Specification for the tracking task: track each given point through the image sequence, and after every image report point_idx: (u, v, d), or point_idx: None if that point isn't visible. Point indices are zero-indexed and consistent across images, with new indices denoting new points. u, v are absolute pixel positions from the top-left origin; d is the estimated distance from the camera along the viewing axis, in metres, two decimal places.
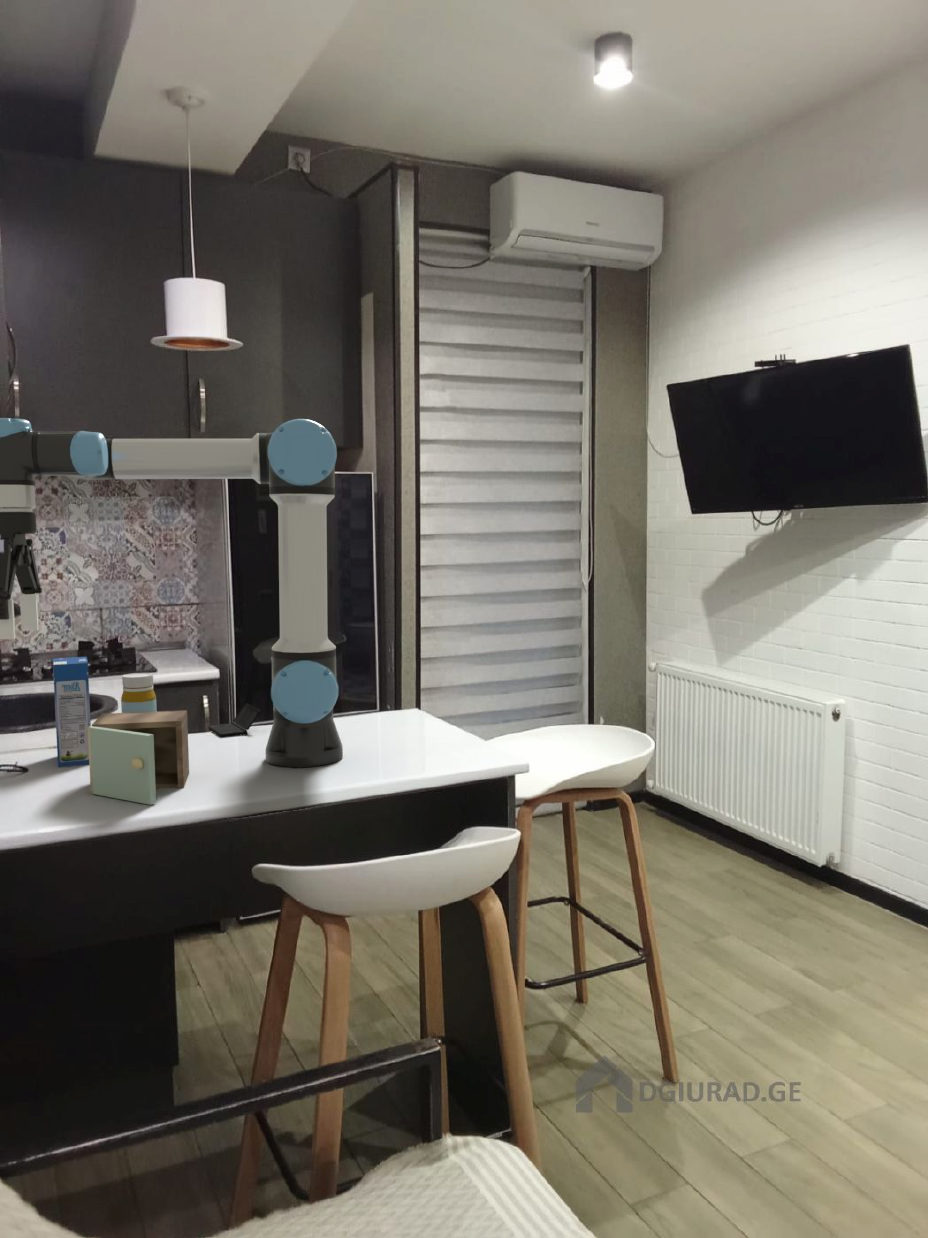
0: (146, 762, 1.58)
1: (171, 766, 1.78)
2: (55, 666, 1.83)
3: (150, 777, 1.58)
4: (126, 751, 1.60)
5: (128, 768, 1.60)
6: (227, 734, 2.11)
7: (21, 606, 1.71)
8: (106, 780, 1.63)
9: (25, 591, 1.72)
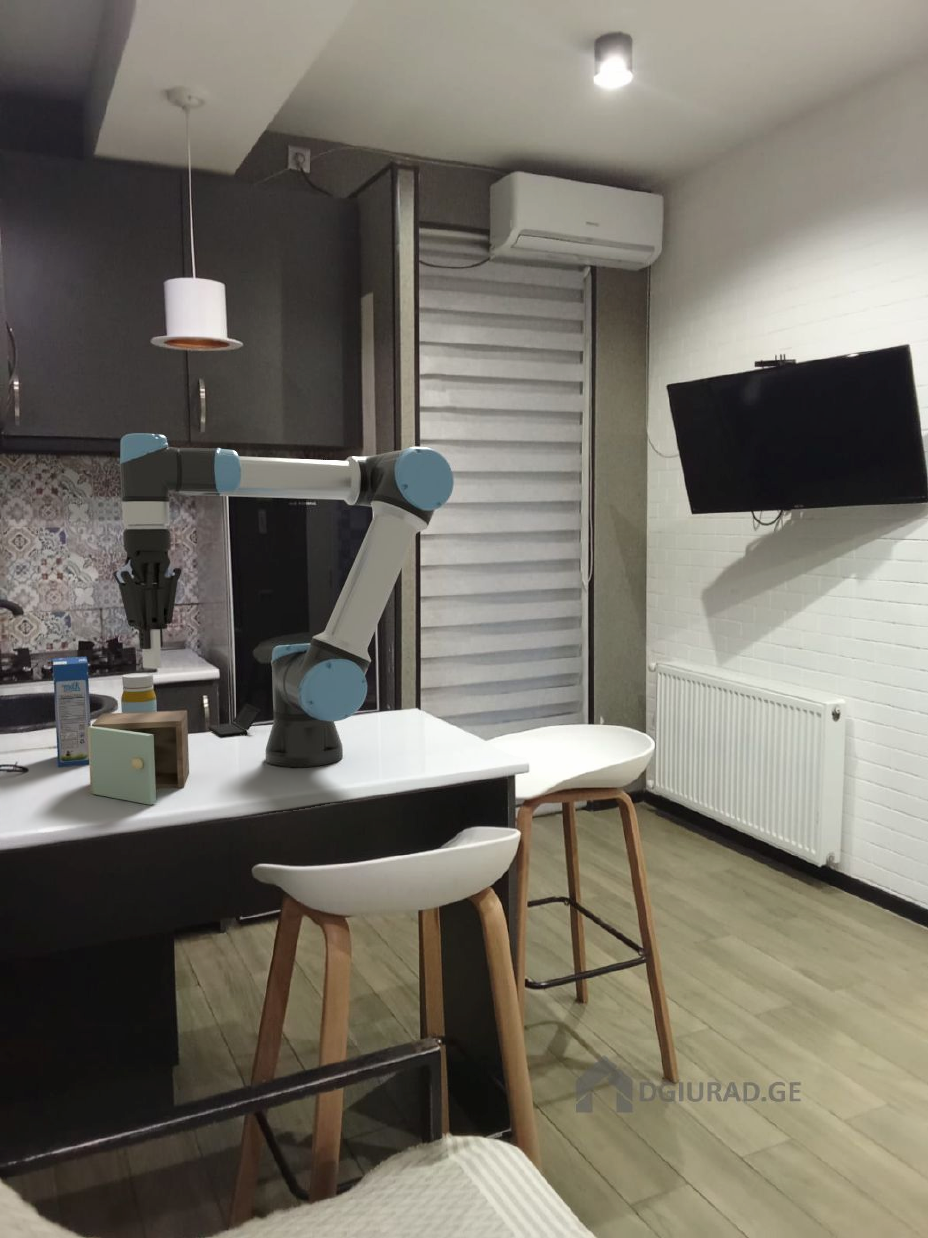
0: (146, 762, 1.58)
1: (171, 766, 1.78)
2: (55, 666, 1.83)
3: (150, 777, 1.58)
4: (126, 751, 1.60)
5: (128, 768, 1.60)
6: (227, 734, 2.11)
7: None
8: (106, 780, 1.63)
9: (151, 626, 1.62)
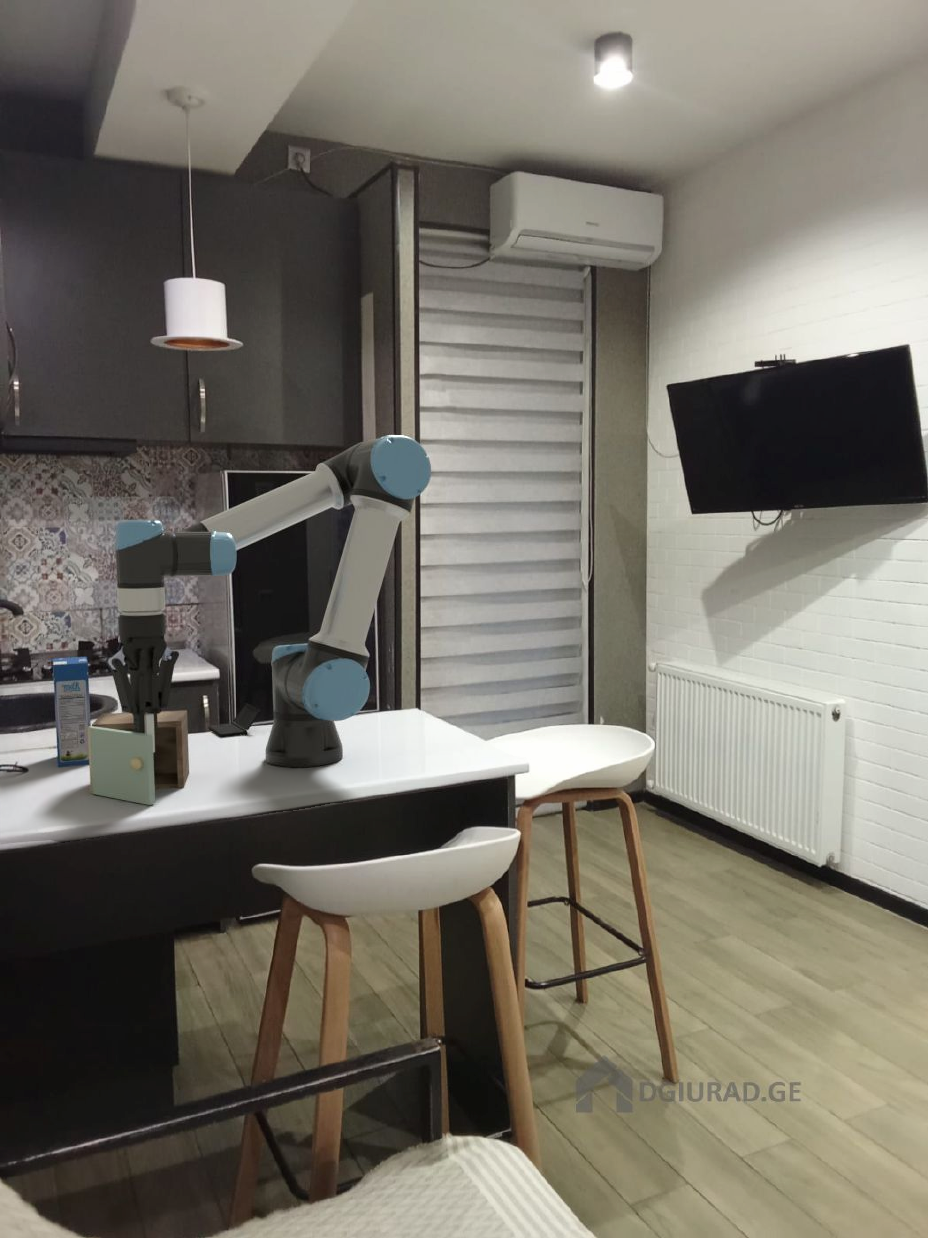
0: (145, 763, 1.58)
1: (171, 766, 1.78)
2: (55, 666, 1.83)
3: (149, 777, 1.58)
4: (125, 751, 1.60)
5: (127, 768, 1.60)
6: (227, 734, 2.11)
7: None
8: (105, 780, 1.63)
9: (146, 710, 1.62)
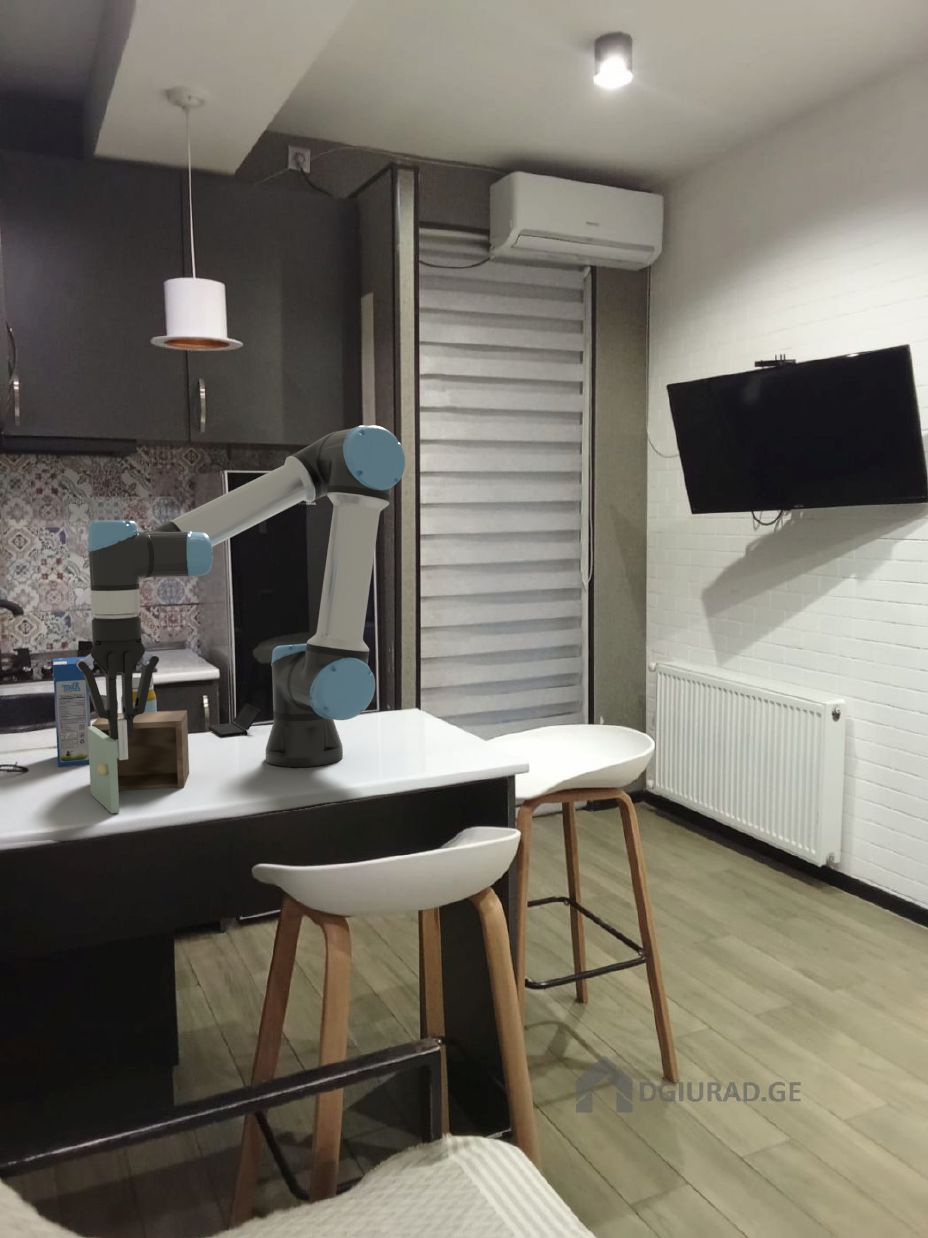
0: (108, 770, 1.54)
1: (171, 766, 1.78)
2: (55, 666, 1.83)
3: (111, 785, 1.54)
4: (101, 755, 1.57)
5: None
6: (227, 734, 2.11)
7: None
8: (95, 782, 1.62)
9: None
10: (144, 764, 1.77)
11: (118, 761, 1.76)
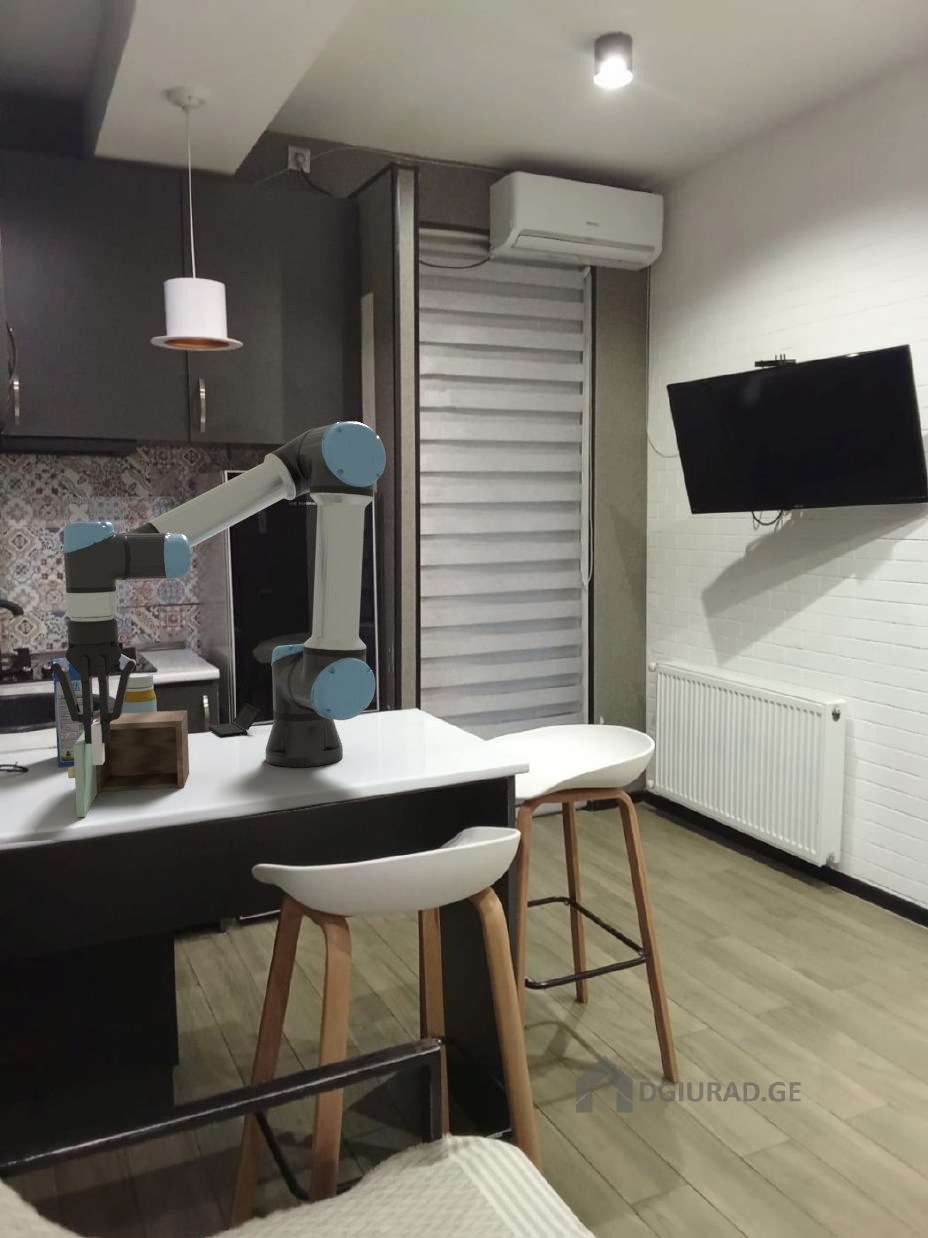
0: (75, 773, 1.52)
1: (171, 766, 1.78)
2: None
3: (76, 789, 1.52)
4: None
5: None
6: (227, 734, 2.11)
7: None
8: None
9: None
10: (144, 764, 1.77)
11: (118, 761, 1.76)
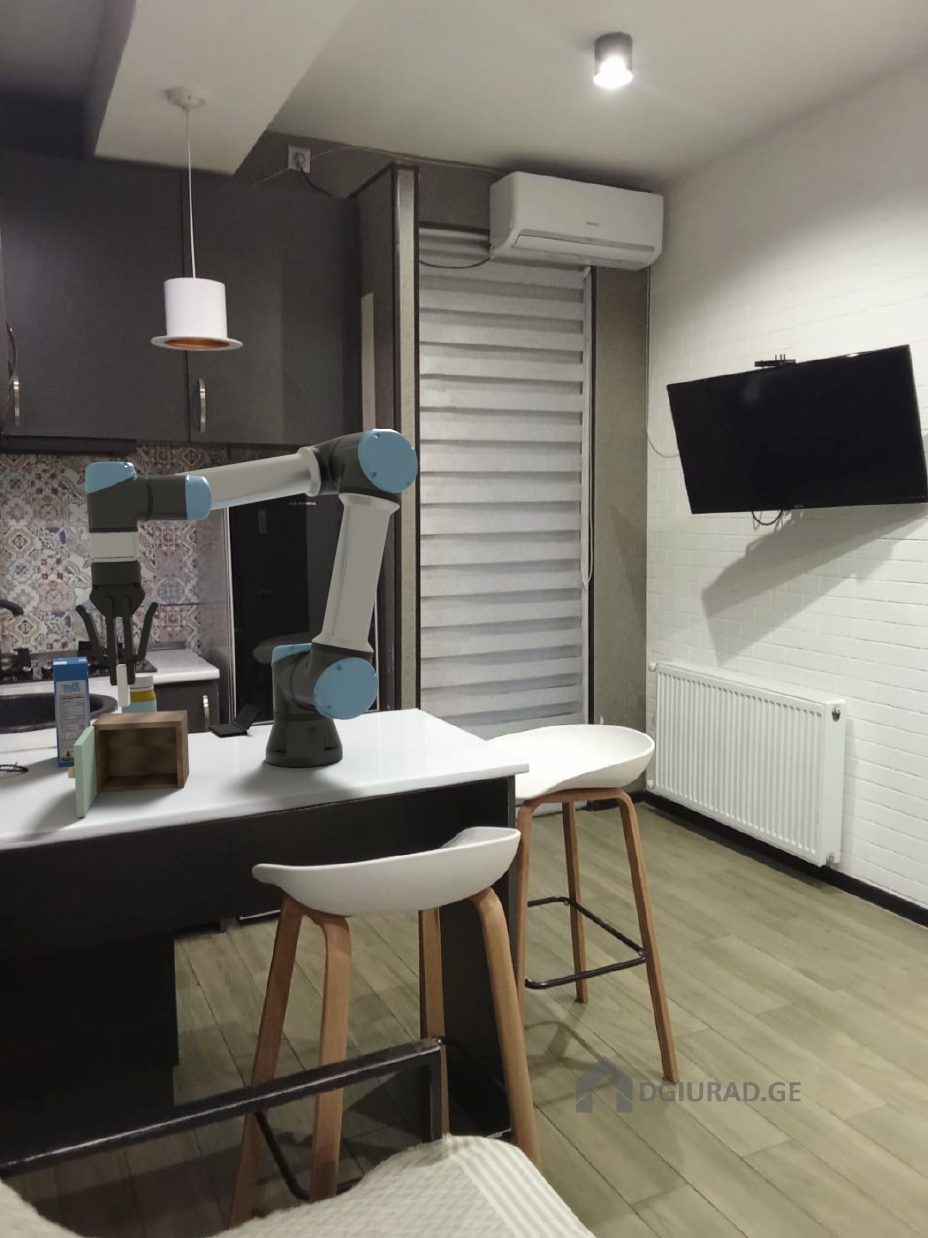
0: (75, 773, 1.52)
1: (171, 766, 1.78)
2: (55, 666, 1.83)
3: (76, 789, 1.52)
4: None
5: None
6: (227, 734, 2.11)
7: None
8: None
9: None
10: (144, 764, 1.77)
11: (118, 761, 1.76)
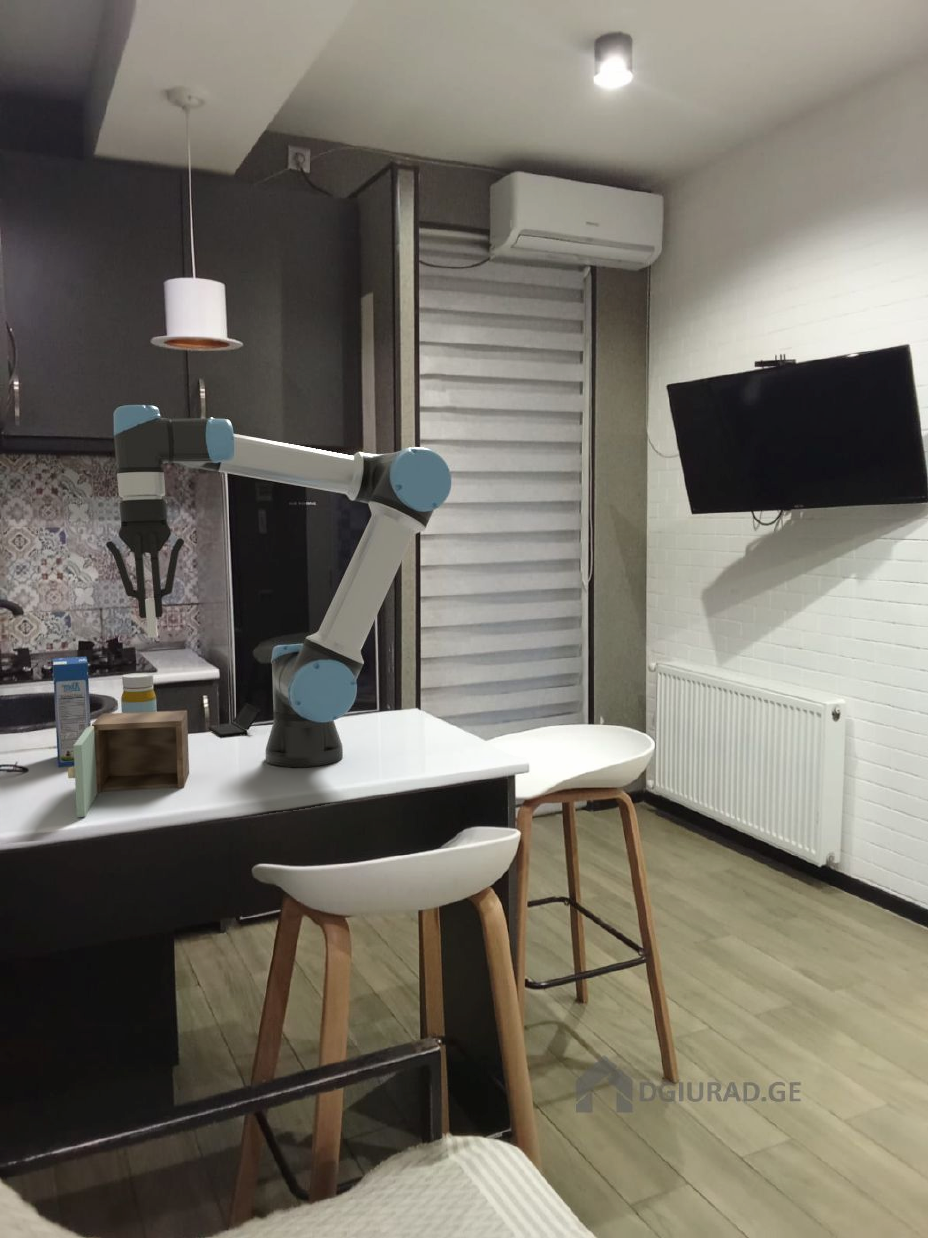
0: (75, 773, 1.52)
1: (171, 766, 1.78)
2: (55, 666, 1.83)
3: (76, 789, 1.52)
4: None
5: None
6: (227, 734, 2.11)
7: None
8: None
9: None
10: (144, 764, 1.77)
11: (118, 761, 1.76)
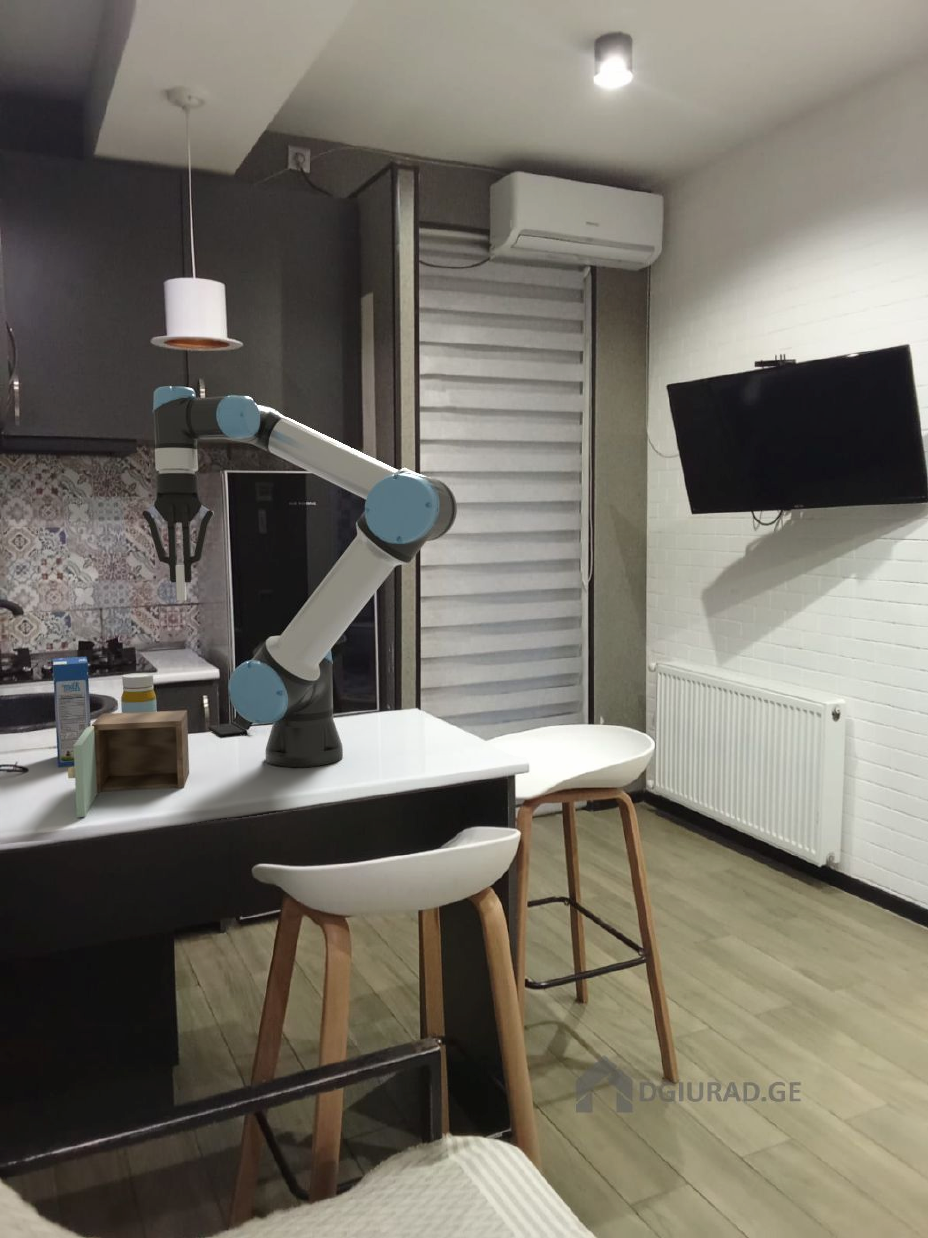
0: (75, 773, 1.52)
1: (171, 766, 1.78)
2: (55, 666, 1.83)
3: (76, 789, 1.52)
4: None
5: None
6: (227, 734, 2.11)
7: None
8: None
9: None
10: (144, 764, 1.77)
11: (118, 761, 1.76)
